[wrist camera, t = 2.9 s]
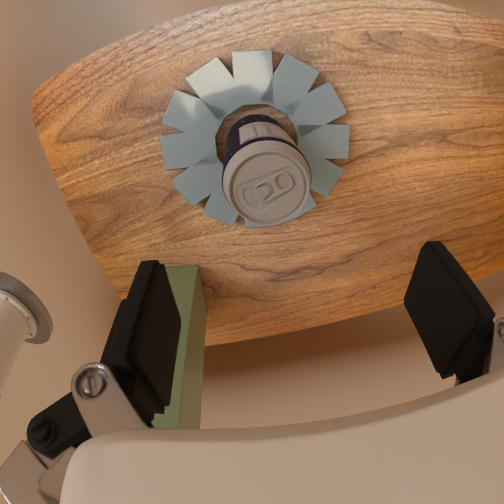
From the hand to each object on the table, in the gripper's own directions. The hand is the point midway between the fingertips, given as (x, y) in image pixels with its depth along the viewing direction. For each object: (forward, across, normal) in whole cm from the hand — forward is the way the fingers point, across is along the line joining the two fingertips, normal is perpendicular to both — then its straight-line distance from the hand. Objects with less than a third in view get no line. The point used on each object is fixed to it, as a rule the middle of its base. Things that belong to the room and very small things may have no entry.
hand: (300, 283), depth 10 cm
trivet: (+20, 0, 0) cm, 20 cm away
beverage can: (+21, 0, 0) cm, 21 cm away
